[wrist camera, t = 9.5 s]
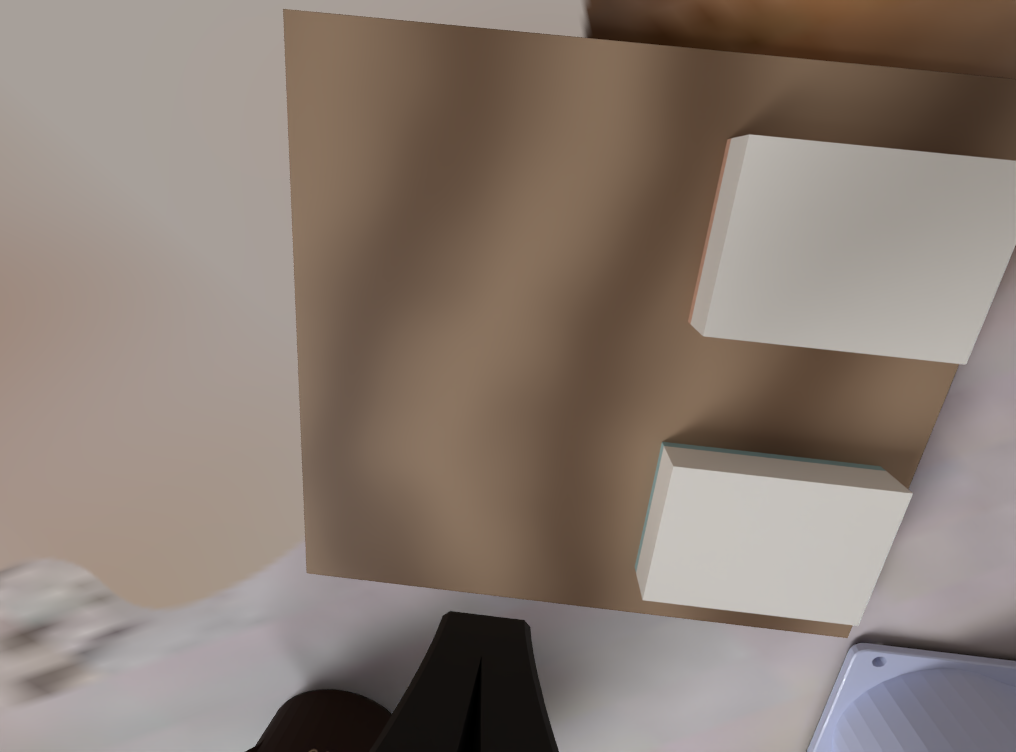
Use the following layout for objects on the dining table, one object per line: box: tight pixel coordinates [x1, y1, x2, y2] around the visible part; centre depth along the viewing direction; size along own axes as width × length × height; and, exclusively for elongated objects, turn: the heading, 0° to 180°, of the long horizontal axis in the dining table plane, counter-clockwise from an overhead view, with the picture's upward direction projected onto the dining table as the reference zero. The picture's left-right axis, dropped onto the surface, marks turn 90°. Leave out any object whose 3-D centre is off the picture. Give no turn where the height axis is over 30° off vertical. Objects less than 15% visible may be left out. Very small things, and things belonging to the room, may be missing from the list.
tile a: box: [635, 442, 913, 626], centre depth 17 cm, size 2×5×7 cm
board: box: [283, 9, 1016, 638], centre depth 17 cm, size 20×18×1 cm
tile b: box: [688, 134, 1016, 365], centre depth 14 cm, size 2×5×7 cm
